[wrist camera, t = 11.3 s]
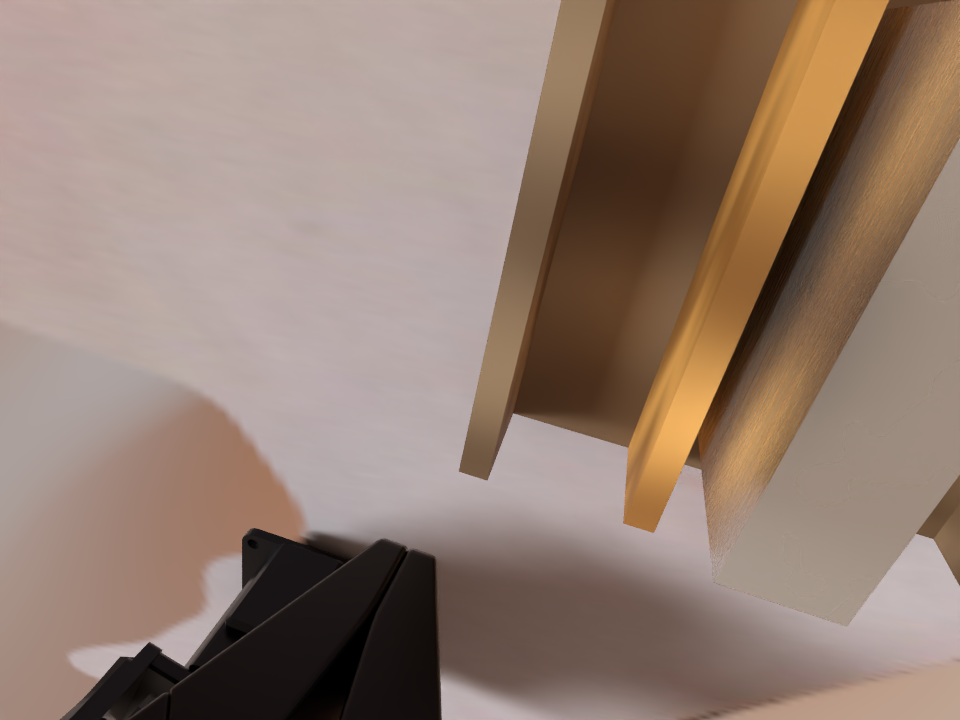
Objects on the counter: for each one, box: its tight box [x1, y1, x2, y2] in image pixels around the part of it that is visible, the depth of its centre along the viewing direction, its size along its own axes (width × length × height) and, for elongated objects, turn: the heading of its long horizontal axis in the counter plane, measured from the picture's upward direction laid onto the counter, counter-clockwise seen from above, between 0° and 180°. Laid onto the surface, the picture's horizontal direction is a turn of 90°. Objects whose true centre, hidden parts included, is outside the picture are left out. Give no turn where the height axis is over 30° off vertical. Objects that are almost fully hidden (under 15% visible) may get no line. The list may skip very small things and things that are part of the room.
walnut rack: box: [459, 0, 960, 585], centre depth 14 cm, size 14×14×4 cm
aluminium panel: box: [698, 0, 960, 626], centre depth 12 cm, size 10×2×7 cm, turn 169°
